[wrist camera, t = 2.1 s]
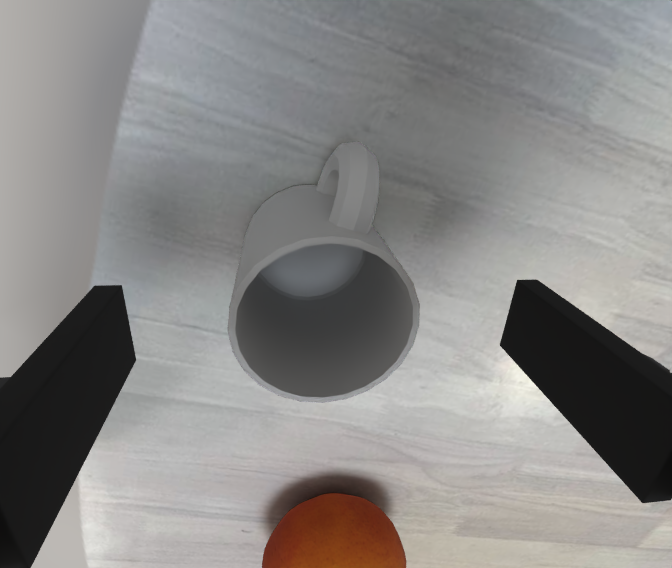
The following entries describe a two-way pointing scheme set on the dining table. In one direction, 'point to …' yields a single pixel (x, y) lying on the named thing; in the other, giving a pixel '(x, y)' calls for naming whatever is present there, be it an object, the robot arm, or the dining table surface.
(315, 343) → the cup
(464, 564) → the dining table surface
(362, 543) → the fruit
